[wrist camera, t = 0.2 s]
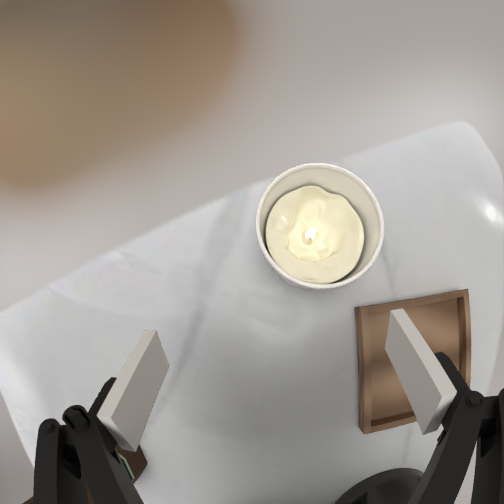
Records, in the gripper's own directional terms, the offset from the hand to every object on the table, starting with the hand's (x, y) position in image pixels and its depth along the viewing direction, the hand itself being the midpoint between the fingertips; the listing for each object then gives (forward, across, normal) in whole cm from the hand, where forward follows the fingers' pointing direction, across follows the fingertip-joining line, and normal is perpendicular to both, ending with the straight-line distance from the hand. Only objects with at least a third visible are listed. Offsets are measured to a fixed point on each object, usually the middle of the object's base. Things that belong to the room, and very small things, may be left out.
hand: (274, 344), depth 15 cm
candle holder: (+18, -4, +2) cm, 19 cm away
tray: (+11, -16, +14) cm, 24 cm away
